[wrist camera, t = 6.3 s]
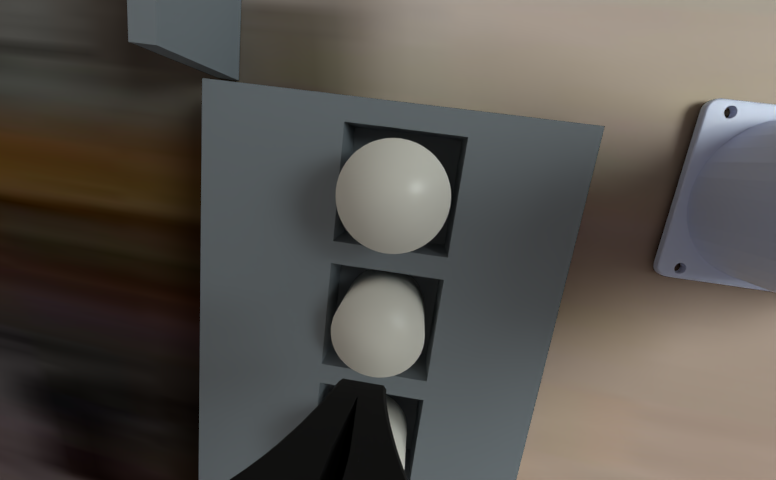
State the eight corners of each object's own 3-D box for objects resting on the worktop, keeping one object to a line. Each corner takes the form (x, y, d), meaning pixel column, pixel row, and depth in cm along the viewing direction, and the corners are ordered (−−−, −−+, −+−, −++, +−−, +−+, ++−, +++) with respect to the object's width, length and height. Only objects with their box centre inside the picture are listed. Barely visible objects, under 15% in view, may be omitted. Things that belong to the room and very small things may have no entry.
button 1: (451, 148, 15) (460, 145, 12) (437, 240, 16) (441, 261, 13) (358, 136, 16) (341, 130, 12) (349, 228, 16) (330, 245, 13)
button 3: (412, 396, 18) (409, 450, 15) (401, 463, 19) (396, 528, 16) (332, 383, 18) (313, 433, 15) (326, 450, 19) (306, 510, 16)
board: (572, 132, 17) (604, 126, 14) (475, 551, 22) (483, 610, 19) (238, 91, 18) (202, 77, 15) (226, 502, 23) (197, 552, 20)
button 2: (429, 273, 18) (431, 298, 15) (418, 345, 19) (417, 384, 16) (350, 261, 18) (335, 283, 15) (343, 333, 19) (326, 369, 16)
